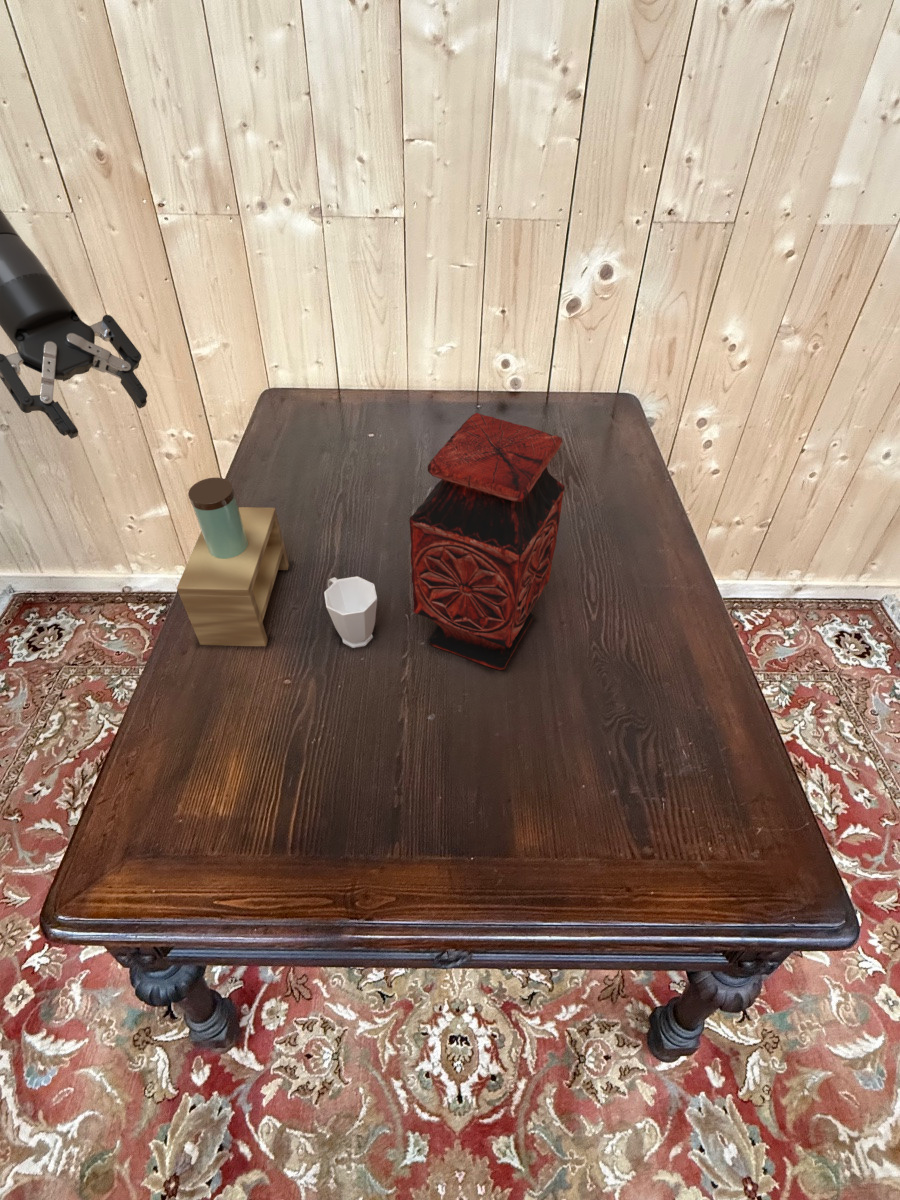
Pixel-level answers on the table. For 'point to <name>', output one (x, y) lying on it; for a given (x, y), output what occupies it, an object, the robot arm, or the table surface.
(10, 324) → the robot arm
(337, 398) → the table surface
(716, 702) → the table surface
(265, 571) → the shelf
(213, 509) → the jar
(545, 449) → the red carved wooden box
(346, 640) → the cup
